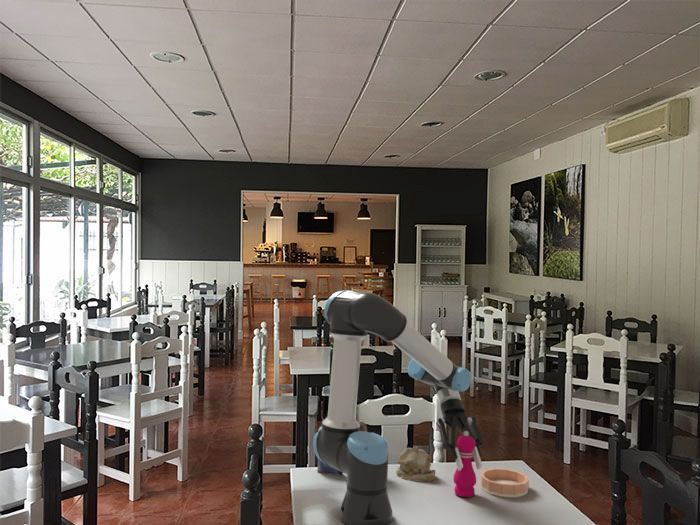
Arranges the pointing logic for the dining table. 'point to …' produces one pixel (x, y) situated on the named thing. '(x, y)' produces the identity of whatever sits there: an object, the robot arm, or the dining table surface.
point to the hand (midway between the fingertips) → (470, 467)
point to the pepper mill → (465, 467)
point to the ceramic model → (415, 465)
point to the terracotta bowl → (504, 482)
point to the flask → (327, 469)
